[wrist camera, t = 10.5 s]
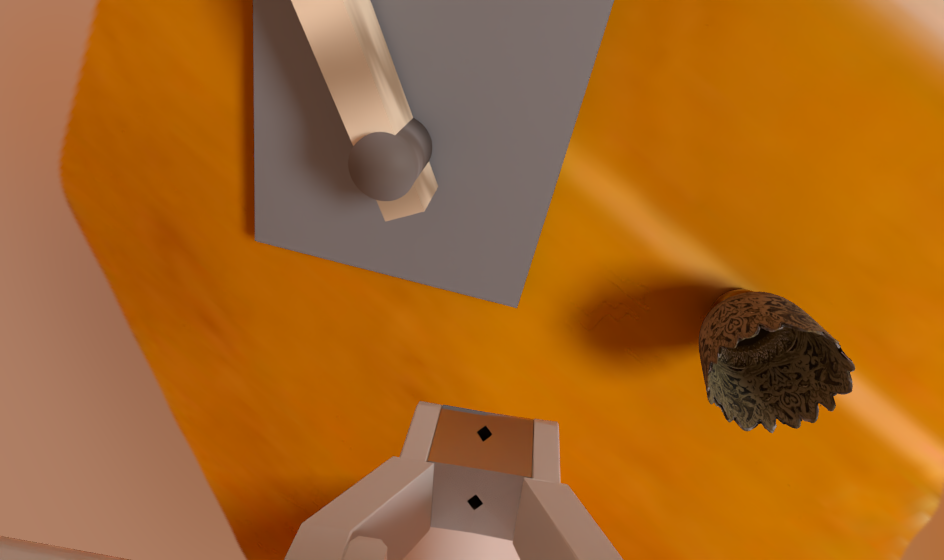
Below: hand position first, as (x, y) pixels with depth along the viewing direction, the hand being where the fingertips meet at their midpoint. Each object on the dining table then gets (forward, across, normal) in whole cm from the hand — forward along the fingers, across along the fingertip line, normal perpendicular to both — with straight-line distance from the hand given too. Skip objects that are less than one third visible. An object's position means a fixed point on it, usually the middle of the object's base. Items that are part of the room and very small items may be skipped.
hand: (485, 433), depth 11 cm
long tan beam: (+22, +9, -5) cm, 24 cm away
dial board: (+24, +7, -3) cm, 25 cm away
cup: (+25, -16, +9) cm, 30 cm away
